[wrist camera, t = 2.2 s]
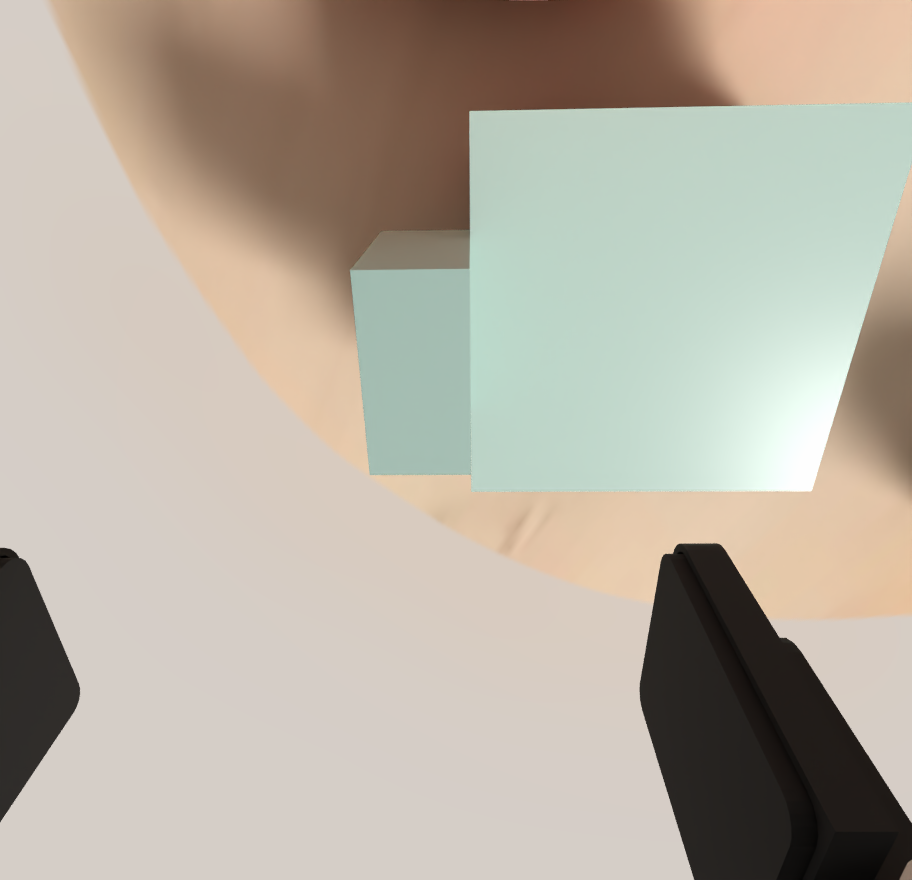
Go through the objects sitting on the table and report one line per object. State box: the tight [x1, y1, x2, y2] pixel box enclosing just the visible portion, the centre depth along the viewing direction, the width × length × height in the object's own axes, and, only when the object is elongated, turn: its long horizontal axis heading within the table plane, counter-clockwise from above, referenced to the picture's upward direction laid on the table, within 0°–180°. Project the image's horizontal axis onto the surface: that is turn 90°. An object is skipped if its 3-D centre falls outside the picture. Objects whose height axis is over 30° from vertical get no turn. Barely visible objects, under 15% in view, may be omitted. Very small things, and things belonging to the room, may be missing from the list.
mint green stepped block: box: [350, 103, 912, 492], centre depth 20 cm, size 13×16×7 cm
